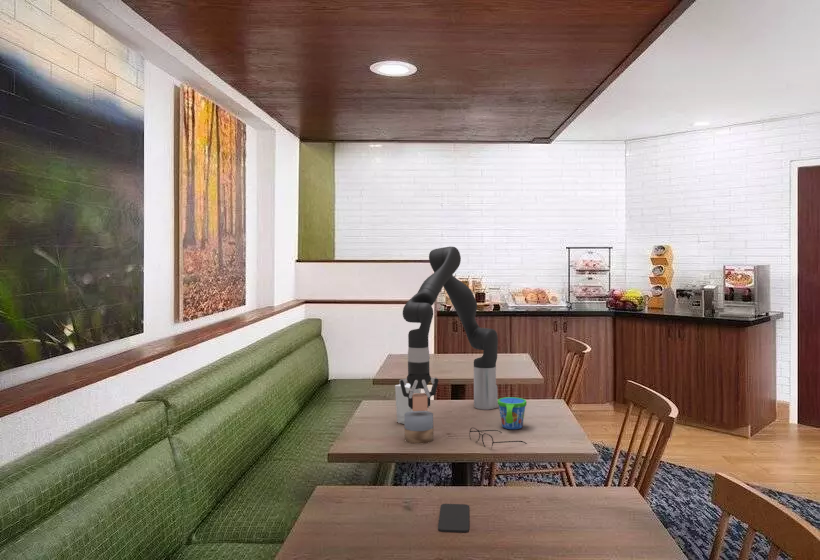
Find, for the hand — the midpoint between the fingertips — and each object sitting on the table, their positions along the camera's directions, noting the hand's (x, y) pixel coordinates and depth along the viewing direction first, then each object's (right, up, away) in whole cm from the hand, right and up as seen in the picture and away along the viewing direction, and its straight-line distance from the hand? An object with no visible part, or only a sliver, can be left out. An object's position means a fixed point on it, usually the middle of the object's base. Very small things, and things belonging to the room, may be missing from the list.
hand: (419, 407), depth 211 cm
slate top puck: (0, -7, 0) cm, 7 cm away
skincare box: (-4, -10, +20) cm, 23 cm away
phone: (+8, -14, -63) cm, 65 cm away
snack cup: (+35, -10, +13) cm, 38 cm away
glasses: (+27, -11, -4) cm, 30 cm away
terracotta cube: (0, 0, 0) cm, 0 cm away
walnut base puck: (0, -11, 0) cm, 11 cm away
